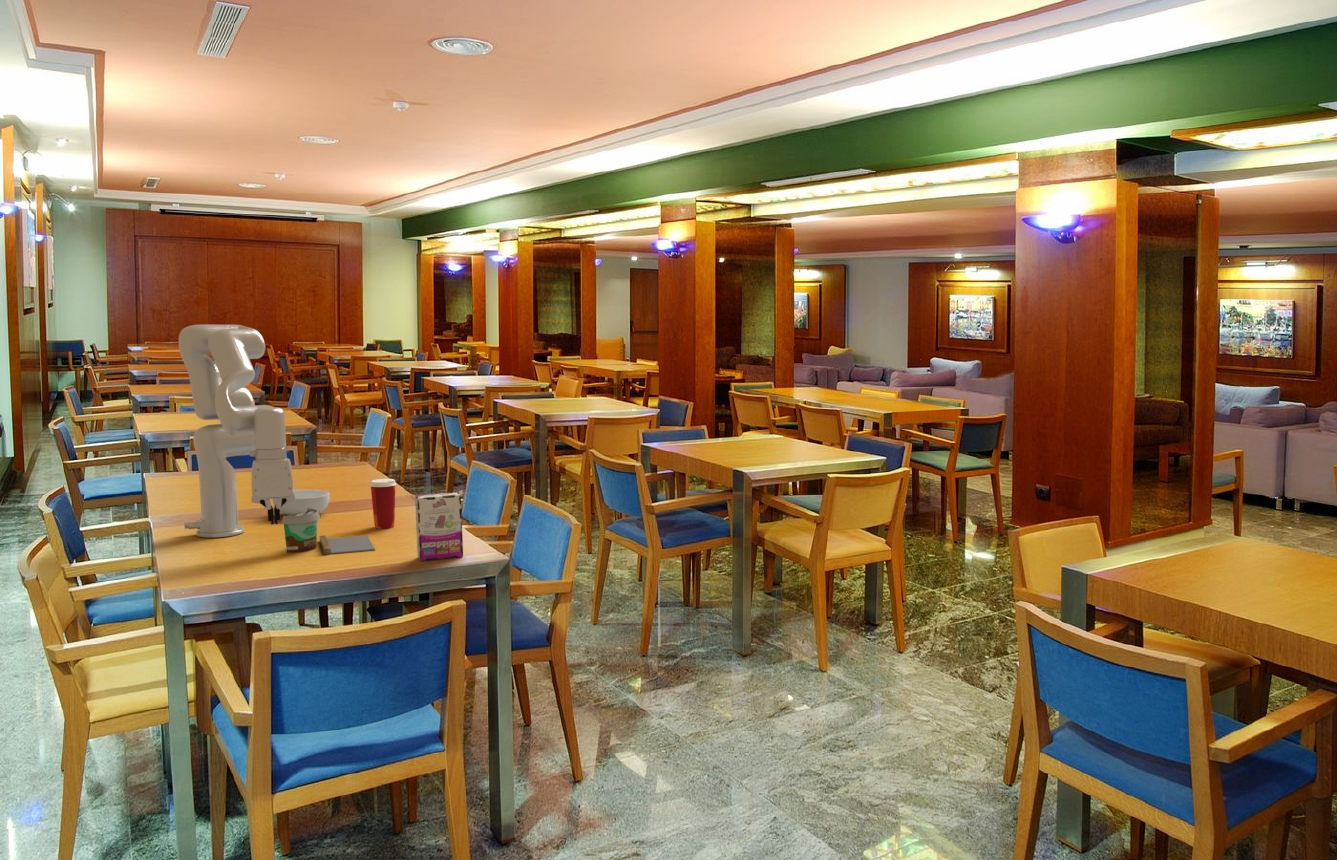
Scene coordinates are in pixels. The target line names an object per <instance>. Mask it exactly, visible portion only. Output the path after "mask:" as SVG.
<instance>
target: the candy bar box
mask: <svg viewBox="0 0 1337 860" xmlns="http://www.w3.org/2000/svg"><path fill="white" fill-rule="evenodd" d="M414 502H415V503H414V505H415V525H416V526H415V527H416V528H415V529H416V532H415V533H416V548H417V550H416V552H417V558H418V559H419V561H420V562H425V561H436V560H446V559H455V558H463V557H464V546H463V543H464V542H463V541H464V540H463V517H462V516H463V514H462V496H461V494H460V493H459V492H445V493H434V494H421V495H415V496H414Z"/></svg>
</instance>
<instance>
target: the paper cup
mask: <svg viewBox="0 0 1337 860" xmlns="http://www.w3.org/2000/svg"><path fill="white" fill-rule="evenodd" d="M396 485H397V482H396V480H395V479H393V478H377V479H372V480H371V481H370V484H369V487H370V492H371V503H372V513H373V521H374V522H373V523H374V524H373V525H374V528H375V529H379V530H382V529H385V530H386V529H392V528H394V527H395V519H396V516H395V515H396V513H395V512H396Z"/></svg>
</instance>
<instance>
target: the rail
mask: <svg viewBox="0 0 1337 860" xmlns="http://www.w3.org/2000/svg"><path fill="white" fill-rule="evenodd" d="M327 539H328V538H327V536H326V535H325V534H324V535H319V543H320V546H321V548H322V551H323V555H327V556H328V555H331V552H330V547H329V544H328V541H327Z"/></svg>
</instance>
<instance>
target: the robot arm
mask: <svg viewBox="0 0 1337 860" xmlns="http://www.w3.org/2000/svg"><path fill="white" fill-rule="evenodd" d="M178 350H179V354H180V356H181V359H182V361H183V363H184V366H185V369H186V371H187V372H188V376H189V377H188V378H189V383H190V390H191V398H192V404H193V408H194V412H195V414H196V416H197V418H199V419H200V420H204V421H219V422H220V423H216V424H206V425H203V426H200V427H199V428H197V430H195V432H194V433H193V447H194V451H195V455H196V460H197V466H198V467H197V468H198V479H199V498H200V519H199V520H197V519H196V521H184V529H187V530H196V529H197V530H196V532H195V534H196V535H195V536H196V537H200V538H205V539H206V538H213V539H214V538H224V537H232V536H237V535H240V534H243V533H244V532H245V527H244V526H242V525H239V516H238V515H239V514H238V513H239V512H238V496H237V495H238V494H237V479H236V478H237V477H236V474H237V473H236V471H235V468H234V467H233V465H231V463H230V462H229V461H228V460H227V458H230V457H236V456H247V455H249V457H253V458H255V460H253V461H252V465H251V495H252V496H251V499H250V501H251V503H253V504H258V505H261V506H263V507H264V509H265V508H266V510H267V521H268V522H270V525H279V524H278V521H281V512H280V508H281V507H282V506H283V505H284V504H285V503H286V502H289V501H292V500H294V499H295V496H294V493H293V492H294V490H295V489H294V488H295V487H294V486H295V485H294V475H293V468H292V462H291V459H290V458H288V456H287V435H286V415H285V411H284V409H283V408H281V407H277V406H276V407H275V406H272V405H270V404H261V405H260V404H259V405H255V400H254V398H253V395H252V393H251V391H250V390H249V389H248V388H246V387H247V386H249V385H250V384H251V383H252V382H253V381H254V379H255V377H256V371H255V368H254V367H253V364H252V362H251V360H255V359H256V360H258V359H260V358H262V357H263V356H264V354H265V352H266V343H265V340H264V337H263V336H262V334H261V333H260V331H258V330H257V329H255V328H253V327H250V326H249V327H248V326H245V325H241V324H216V323H215V324H212V323H211V324H210V323H209V324H208V323H206V324H193V325H189V326H186V327H184V328H182V330H181V331H180V332H179V335H178ZM208 355H212V358H213V359H212V358H211V357H209V356H208ZM272 498H277V500H276V505H275V507H274V506H273V505H272V504H271V500H270V499H272ZM273 507H274V508H273Z"/></svg>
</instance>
